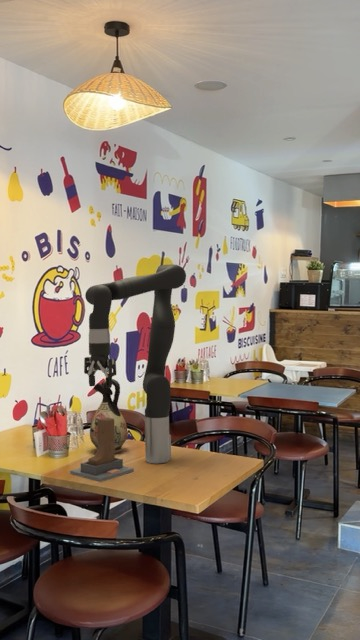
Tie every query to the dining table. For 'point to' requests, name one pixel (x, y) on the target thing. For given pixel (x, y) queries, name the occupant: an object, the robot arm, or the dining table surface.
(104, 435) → the wooden block
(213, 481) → the dining table surface
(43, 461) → the dining table surface
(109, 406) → the ceramic jug
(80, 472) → the pocket plate
